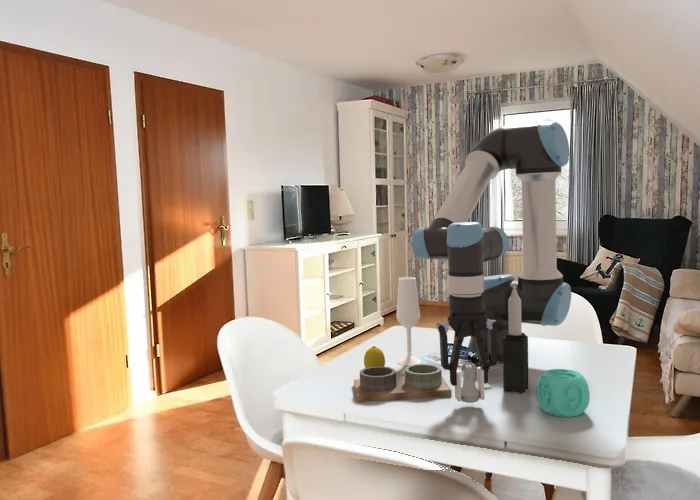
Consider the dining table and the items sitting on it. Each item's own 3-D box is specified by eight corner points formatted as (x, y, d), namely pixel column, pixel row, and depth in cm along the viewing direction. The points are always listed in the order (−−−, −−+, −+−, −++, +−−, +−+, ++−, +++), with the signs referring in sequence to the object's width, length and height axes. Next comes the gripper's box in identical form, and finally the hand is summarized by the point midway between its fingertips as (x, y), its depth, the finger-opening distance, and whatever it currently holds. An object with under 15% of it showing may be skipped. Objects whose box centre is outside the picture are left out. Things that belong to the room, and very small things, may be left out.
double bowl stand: (440, 380, 150) (440, 361, 150) (451, 396, 138) (451, 375, 138) (354, 385, 149) (353, 365, 149) (357, 401, 137) (356, 380, 137)
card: (485, 382, 148) (485, 380, 147) (491, 388, 143) (491, 387, 143) (457, 383, 147) (457, 382, 147) (462, 390, 142) (462, 388, 142)
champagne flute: (405, 366, 164) (402, 280, 162) (393, 361, 170) (390, 277, 168) (426, 363, 166) (423, 278, 164) (413, 357, 172) (411, 275, 170)
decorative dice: (571, 402, 131) (571, 367, 130) (590, 415, 123) (590, 378, 123) (536, 405, 130) (536, 370, 130) (553, 419, 122) (553, 381, 122)
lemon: (383, 379, 153) (382, 348, 152) (362, 378, 154) (361, 348, 154) (386, 372, 159) (385, 343, 158) (366, 372, 160) (365, 343, 159)
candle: (523, 394, 138) (522, 287, 136) (502, 391, 141) (500, 286, 138) (529, 387, 142) (528, 284, 140) (508, 384, 145) (507, 283, 143)
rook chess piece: (481, 396, 132) (480, 361, 131) (478, 403, 128) (477, 367, 127) (461, 395, 134) (459, 360, 133) (457, 402, 130) (456, 366, 129)
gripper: (500, 288, 133) (503, 389, 135) (423, 293, 132) (427, 395, 134) (511, 294, 125) (514, 401, 128) (429, 299, 124) (433, 407, 127)
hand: (469, 398), depth 131 cm, fingers closed on rook chess piece, 4 cm apart
